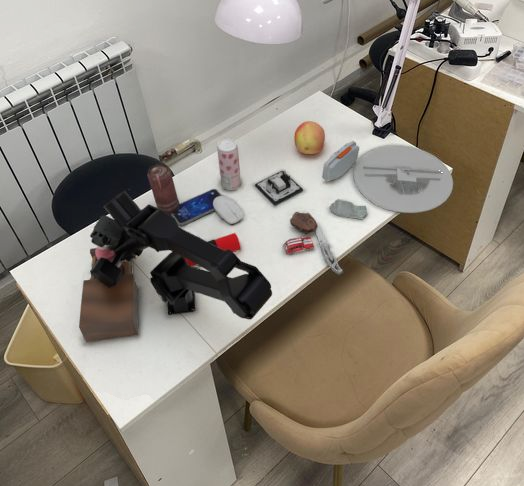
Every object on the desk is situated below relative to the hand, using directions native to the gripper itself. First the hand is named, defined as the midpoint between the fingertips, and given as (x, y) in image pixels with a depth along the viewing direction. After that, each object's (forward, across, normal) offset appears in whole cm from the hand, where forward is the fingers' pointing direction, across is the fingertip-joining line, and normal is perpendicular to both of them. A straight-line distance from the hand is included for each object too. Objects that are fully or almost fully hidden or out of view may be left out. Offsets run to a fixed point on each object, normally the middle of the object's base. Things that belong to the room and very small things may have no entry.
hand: (104, 258), depth 134 cm
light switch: (-16, -44, +23) cm, 52 cm away
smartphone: (-4, -27, +14) cm, 31 cm away
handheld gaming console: (-29, -52, +39) cm, 71 cm away
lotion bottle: (+2, 0, +4) cm, 5 cm away
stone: (-24, -28, +34) cm, 51 cm away
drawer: (+3, 0, +5) cm, 6 cm away
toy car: (-25, -21, +35) cm, 48 cm away
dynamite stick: (-17, -17, +23) cm, 33 cm away
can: (+1, -25, +8) cm, 26 cm away
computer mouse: (-10, -28, +20) cm, 36 cm away
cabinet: (+1, +10, +9) cm, 14 cm away
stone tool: (-34, -40, +41) cm, 66 cm away
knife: (-32, -23, +41) cm, 57 cm away
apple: (-24, -54, +28) cm, 66 cm away
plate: (-42, -54, +51) cm, 85 cm away
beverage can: (-8, -39, +18) cm, 43 cm away
